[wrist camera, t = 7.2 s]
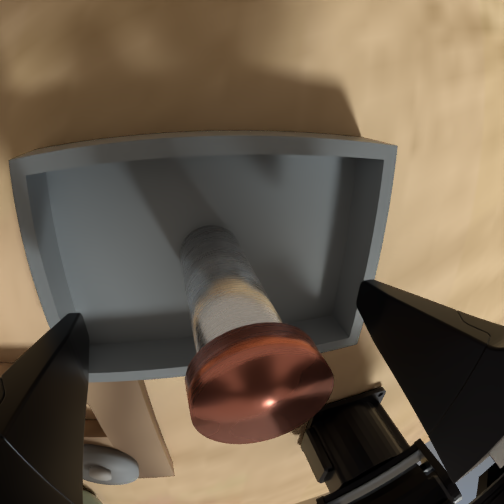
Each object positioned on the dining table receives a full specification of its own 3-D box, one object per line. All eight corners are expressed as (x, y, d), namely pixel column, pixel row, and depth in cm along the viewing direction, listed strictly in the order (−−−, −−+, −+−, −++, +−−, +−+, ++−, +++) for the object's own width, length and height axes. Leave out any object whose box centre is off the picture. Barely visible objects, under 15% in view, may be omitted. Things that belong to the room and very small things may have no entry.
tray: (362, 137, 13) (397, 145, 11) (334, 316, 17) (356, 344, 15) (36, 149, 9) (8, 160, 7) (81, 346, 14) (74, 382, 11)
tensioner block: (137, 360, 15) (137, 398, 13) (172, 461, 20) (176, 488, 18) (-14, 361, 12) (-27, 393, 10) (58, 461, 18) (57, 487, 15)
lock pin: (249, 212, 12) (347, 340, 6) (247, 283, 14) (319, 426, 7) (167, 218, 12) (181, 370, 5) (173, 290, 13) (199, 452, 6)
